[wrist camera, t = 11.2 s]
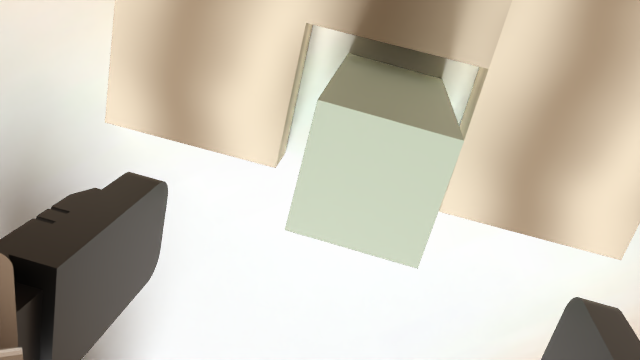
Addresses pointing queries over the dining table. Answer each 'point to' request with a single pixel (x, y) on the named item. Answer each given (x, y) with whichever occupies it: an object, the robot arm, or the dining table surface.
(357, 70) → the green peg
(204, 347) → the dining table surface
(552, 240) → the notched board
